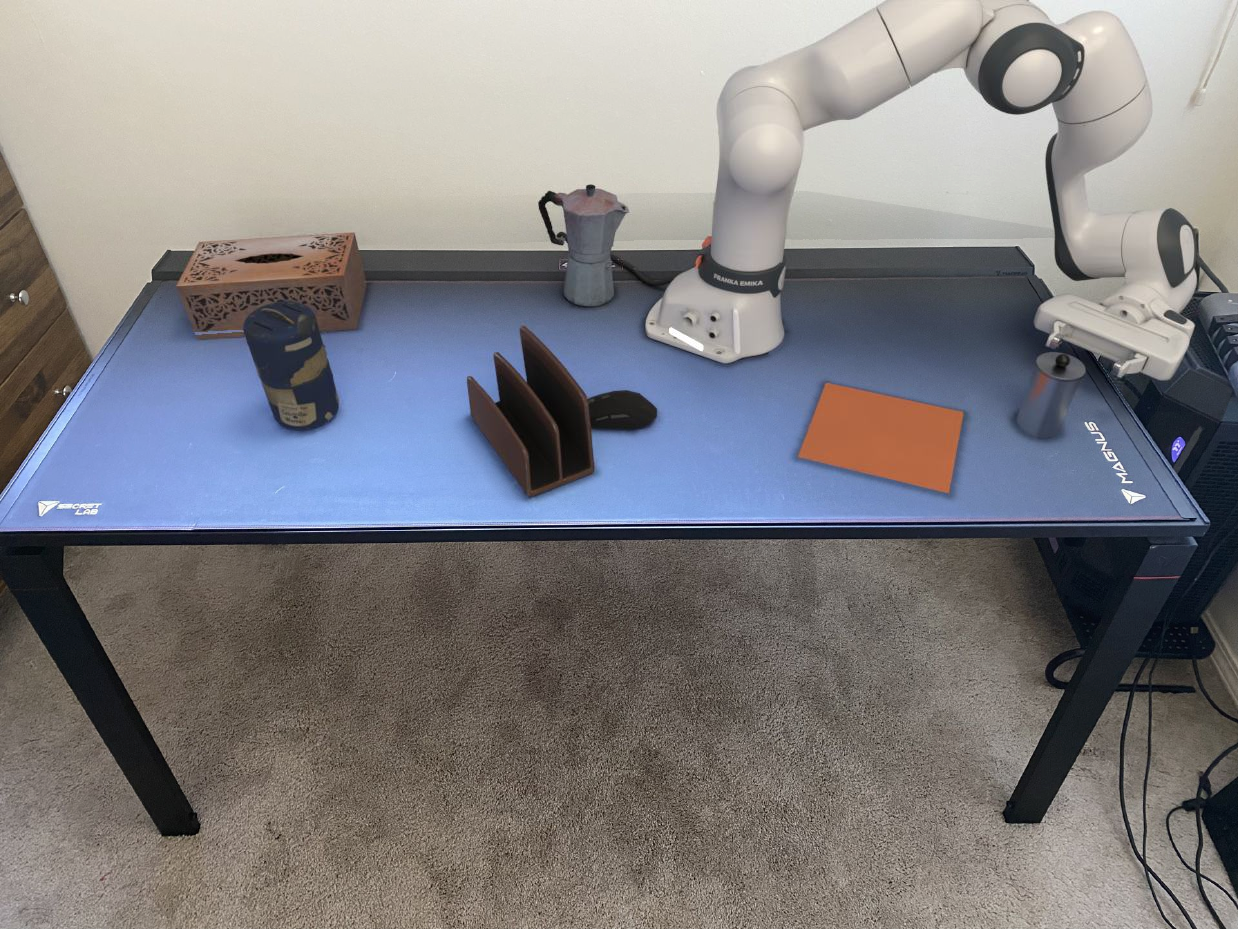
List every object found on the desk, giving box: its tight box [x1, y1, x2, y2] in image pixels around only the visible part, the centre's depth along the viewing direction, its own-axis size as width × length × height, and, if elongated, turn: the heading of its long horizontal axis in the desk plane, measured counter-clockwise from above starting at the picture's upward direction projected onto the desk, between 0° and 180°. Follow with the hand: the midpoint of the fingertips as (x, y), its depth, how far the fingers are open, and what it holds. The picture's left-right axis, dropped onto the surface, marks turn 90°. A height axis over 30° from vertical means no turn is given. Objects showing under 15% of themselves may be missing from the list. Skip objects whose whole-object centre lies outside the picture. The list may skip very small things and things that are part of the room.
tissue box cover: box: [175, 231, 368, 341], centre depth 149 cm, size 26×14×10 cm, turn 96°
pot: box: [1016, 351, 1087, 440], centre depth 122 cm, size 6×6×12 cm
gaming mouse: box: [587, 389, 658, 431], centre depth 128 cm, size 6×15×4 cm, turn 88°
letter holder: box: [466, 325, 596, 499], centre depth 120 cm, size 10×20×14 cm, turn 30°
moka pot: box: [537, 183, 630, 307], centre depth 148 cm, size 10×15×20 cm, turn 78°
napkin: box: [797, 382, 964, 494], centre depth 125 cm, size 20×18×1 cm
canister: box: [243, 301, 340, 431], centre depth 125 cm, size 10×10×18 cm
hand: (1083, 357), depth 125 cm, fingers open, 8 cm apart
